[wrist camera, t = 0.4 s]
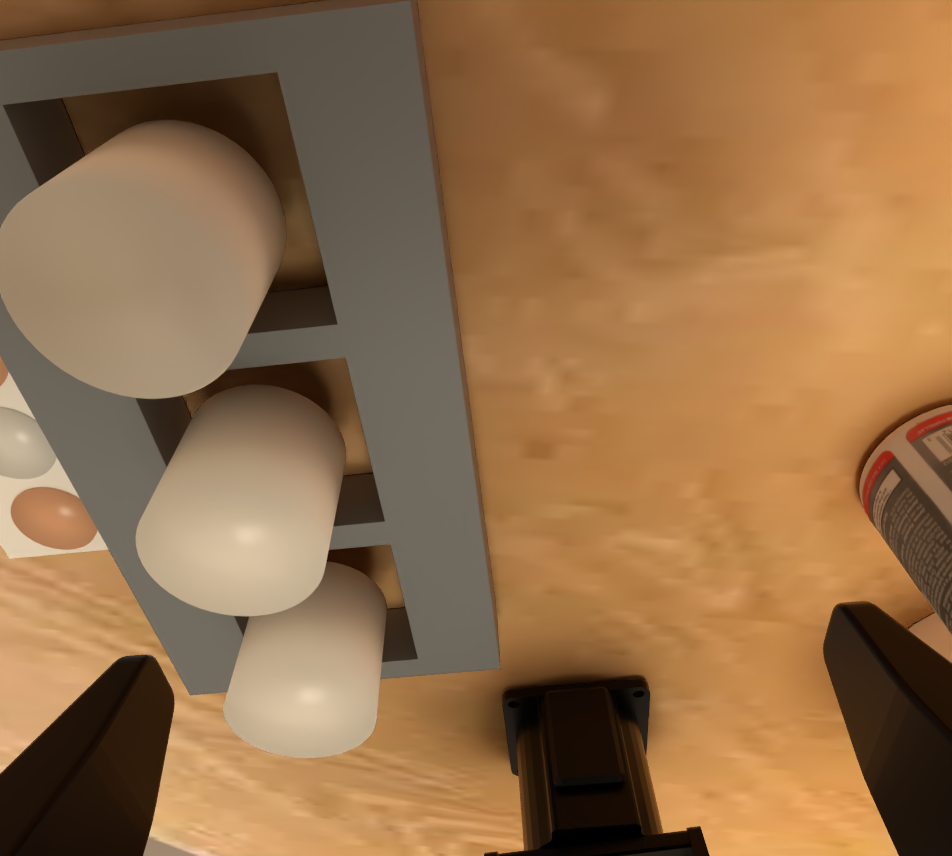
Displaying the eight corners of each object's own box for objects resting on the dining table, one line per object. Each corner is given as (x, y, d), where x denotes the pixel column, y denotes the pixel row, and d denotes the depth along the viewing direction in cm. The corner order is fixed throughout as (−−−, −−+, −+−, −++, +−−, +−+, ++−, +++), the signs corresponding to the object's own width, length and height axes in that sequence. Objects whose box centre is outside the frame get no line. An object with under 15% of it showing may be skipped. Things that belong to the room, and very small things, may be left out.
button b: (359, 500, 23) (342, 608, 19) (216, 514, 23) (173, 623, 19) (327, 376, 20) (300, 475, 17) (164, 393, 20) (104, 494, 17)
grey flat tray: (497, 616, 29) (500, 668, 27) (208, 641, 30) (190, 695, 28) (415, -11, 17) (410, 0, 15) (-88, 51, 17) (-161, 70, 15)
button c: (306, 297, 19) (272, 387, 15) (132, 316, 19) (59, 409, 15) (256, 107, 16) (202, 164, 13) (54, 131, 16) (-55, 193, 13)
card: (147, 538, 26) (142, 549, 26) (15, 550, 27) (7, 561, 26) (19, 286, 21) (9, 294, 20) (-150, 304, 21) (-163, 313, 20)
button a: (396, 642, 27) (388, 752, 23) (274, 653, 27) (248, 763, 24) (374, 554, 24) (360, 663, 21) (238, 567, 24) (202, 677, 21)
